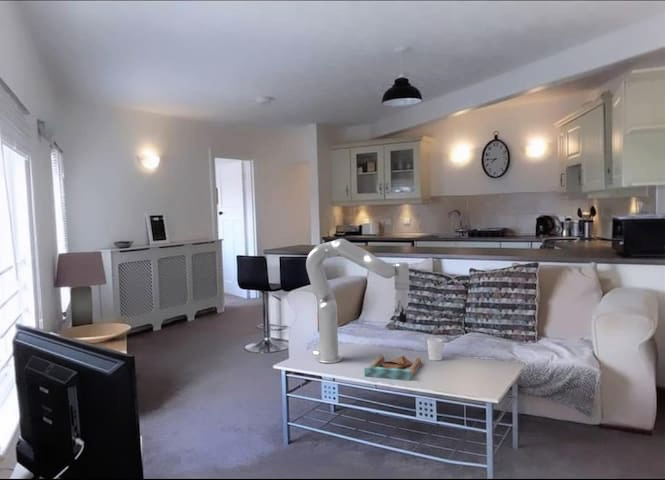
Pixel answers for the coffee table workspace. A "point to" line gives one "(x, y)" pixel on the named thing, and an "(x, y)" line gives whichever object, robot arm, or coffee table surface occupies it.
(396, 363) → the brown elongated piece
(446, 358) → the coffee table surface
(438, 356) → the white cup
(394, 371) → the teal open box
